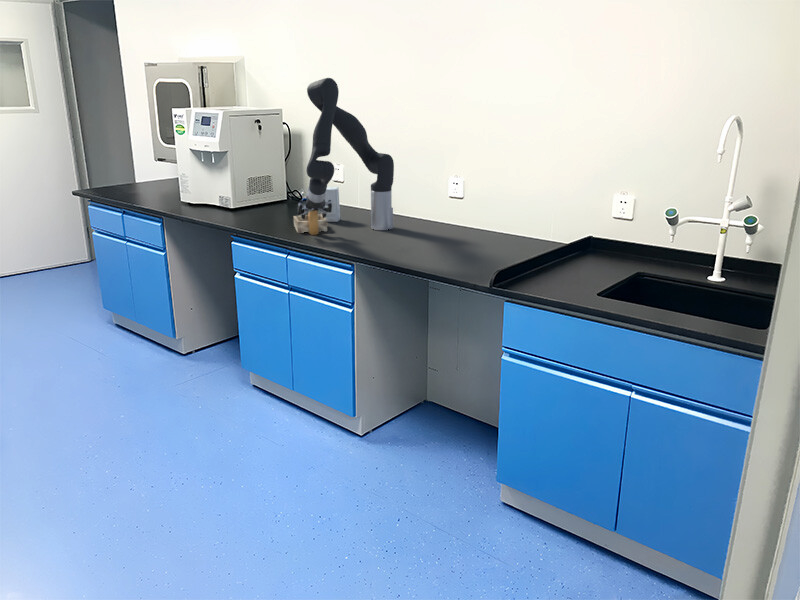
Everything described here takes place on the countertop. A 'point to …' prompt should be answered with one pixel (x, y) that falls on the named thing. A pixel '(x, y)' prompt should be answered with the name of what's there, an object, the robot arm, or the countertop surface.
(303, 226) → the box
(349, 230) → the countertop surface
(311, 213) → the peg
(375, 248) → the countertop surface
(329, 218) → the skincare box
